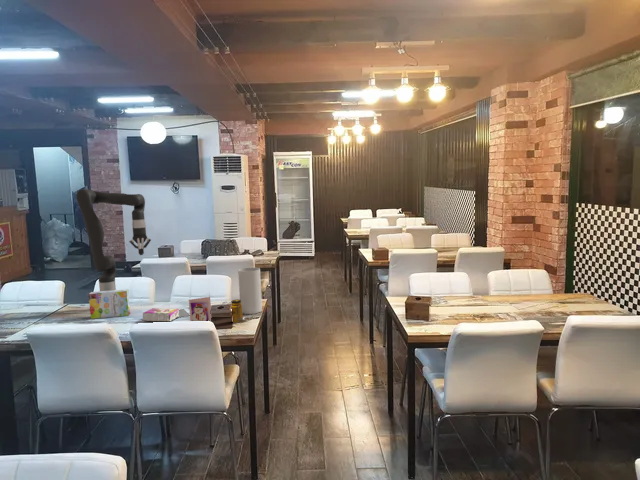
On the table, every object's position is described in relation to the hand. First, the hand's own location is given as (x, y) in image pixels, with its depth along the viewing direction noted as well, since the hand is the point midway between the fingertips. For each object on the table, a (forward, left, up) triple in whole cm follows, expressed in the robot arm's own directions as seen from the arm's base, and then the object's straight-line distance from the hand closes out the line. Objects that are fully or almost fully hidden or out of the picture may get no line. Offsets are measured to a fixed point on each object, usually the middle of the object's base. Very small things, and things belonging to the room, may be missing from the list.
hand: (141, 254), depth 310 cm
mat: (+9, -29, -33) cm, 45 cm away
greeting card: (+20, -62, -33) cm, 73 cm away
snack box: (-21, -10, -33) cm, 41 cm away
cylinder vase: (+52, -49, -33) cm, 79 cm away
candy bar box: (-3, -31, -30) cm, 43 cm away
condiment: (+39, -65, -33) cm, 83 cm away
